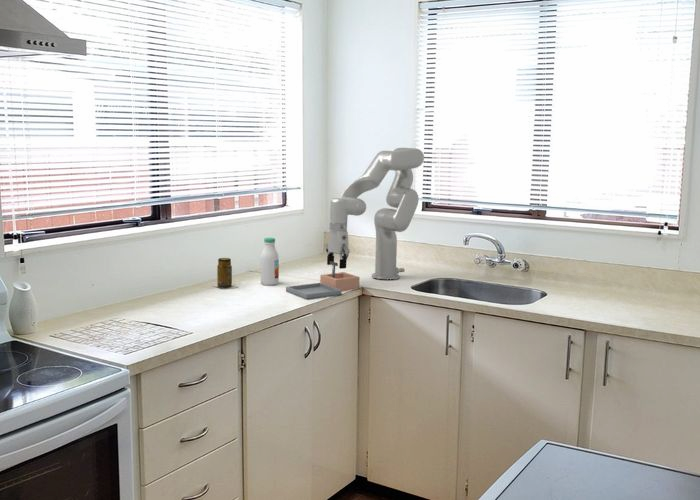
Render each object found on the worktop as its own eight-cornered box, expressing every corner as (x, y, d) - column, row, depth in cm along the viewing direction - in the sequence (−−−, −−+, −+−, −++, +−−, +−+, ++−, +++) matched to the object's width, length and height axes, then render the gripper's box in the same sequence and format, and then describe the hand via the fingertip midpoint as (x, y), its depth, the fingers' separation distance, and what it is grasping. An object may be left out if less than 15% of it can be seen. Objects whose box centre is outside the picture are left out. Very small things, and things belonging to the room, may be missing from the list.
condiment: (227, 284, 328) (227, 256, 326) (238, 287, 322) (237, 259, 320) (212, 286, 324) (212, 258, 322) (222, 289, 317) (222, 261, 315)
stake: (331, 286, 326) (331, 261, 324) (337, 289, 322) (338, 263, 320) (329, 287, 325) (329, 261, 324) (335, 289, 321) (335, 263, 319)
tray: (320, 287, 325) (320, 282, 325) (341, 294, 311) (341, 290, 311) (285, 291, 316) (285, 286, 315) (306, 299, 302) (306, 294, 302)
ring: (343, 283, 334) (343, 272, 333) (359, 288, 324) (359, 277, 323) (320, 286, 327) (320, 274, 326) (335, 291, 317) (335, 279, 316)
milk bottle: (270, 286, 325) (270, 240, 322) (257, 283, 329) (256, 238, 326) (282, 283, 331) (282, 238, 328) (269, 281, 336) (269, 236, 332)
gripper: (356, 229, 322) (354, 269, 324) (334, 224, 336) (333, 262, 338) (342, 229, 318) (340, 270, 320) (320, 224, 332) (318, 263, 334)
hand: (336, 266), depth 329 cm, fingers open, 9 cm apart
